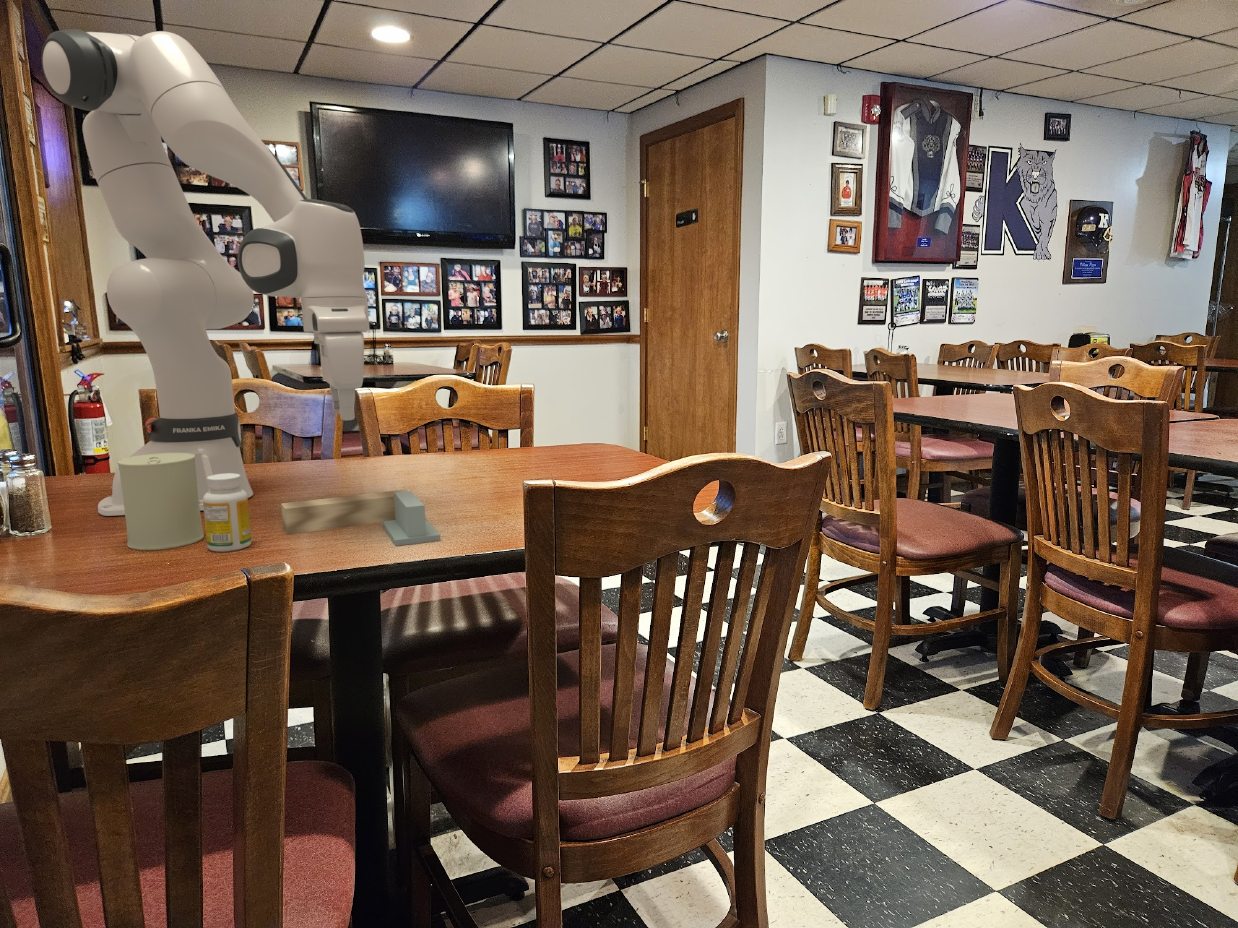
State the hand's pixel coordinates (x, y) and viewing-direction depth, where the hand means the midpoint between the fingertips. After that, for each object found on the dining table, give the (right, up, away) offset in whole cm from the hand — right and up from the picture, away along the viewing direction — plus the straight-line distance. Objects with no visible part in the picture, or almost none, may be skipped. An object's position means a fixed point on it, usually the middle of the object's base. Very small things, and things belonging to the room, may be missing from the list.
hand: (344, 416), depth 117 cm
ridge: (+10, -17, -3) cm, 20 cm away
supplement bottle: (-12, -18, -9) cm, 24 cm away
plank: (0, -16, +3) cm, 16 cm away
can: (-22, -18, -6) cm, 29 cm away
